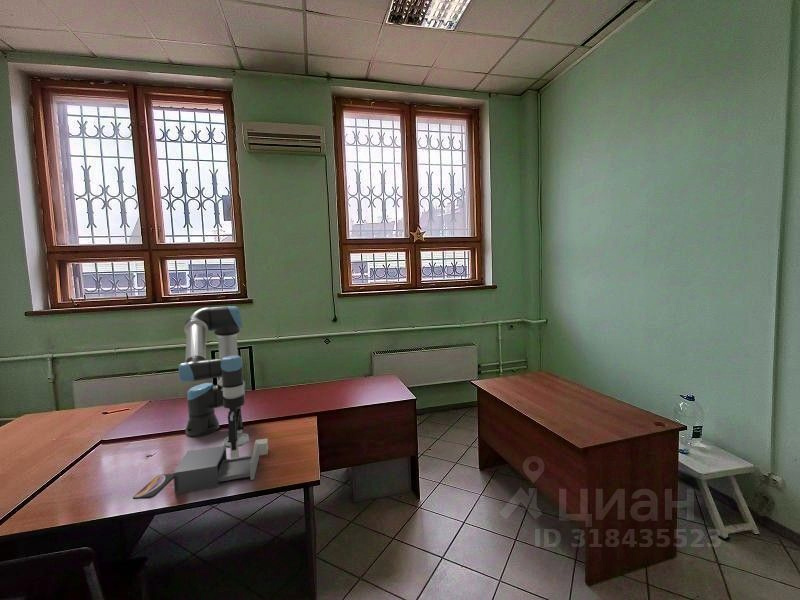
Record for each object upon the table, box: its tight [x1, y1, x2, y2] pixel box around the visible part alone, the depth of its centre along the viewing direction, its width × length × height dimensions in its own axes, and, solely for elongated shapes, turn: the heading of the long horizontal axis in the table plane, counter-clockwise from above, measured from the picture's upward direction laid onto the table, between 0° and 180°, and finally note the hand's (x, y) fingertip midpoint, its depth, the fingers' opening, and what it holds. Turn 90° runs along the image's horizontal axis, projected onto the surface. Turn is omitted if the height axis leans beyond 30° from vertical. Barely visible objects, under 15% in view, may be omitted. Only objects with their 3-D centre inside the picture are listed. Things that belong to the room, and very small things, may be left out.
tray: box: [218, 443, 260, 483], centre depth 139 cm, size 17×14×7 cm
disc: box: [223, 432, 250, 449], centre depth 139 cm, size 9×9×2 cm
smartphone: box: [132, 473, 174, 500], centre depth 132 cm, size 8×1×15 cm
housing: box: [172, 445, 228, 495], centre depth 136 cm, size 17×14×8 cm
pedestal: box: [253, 438, 269, 457], centre depth 155 cm, size 5×5×5 cm
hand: (237, 451), depth 139 cm, fingers closed on disc, 9 cm apart
